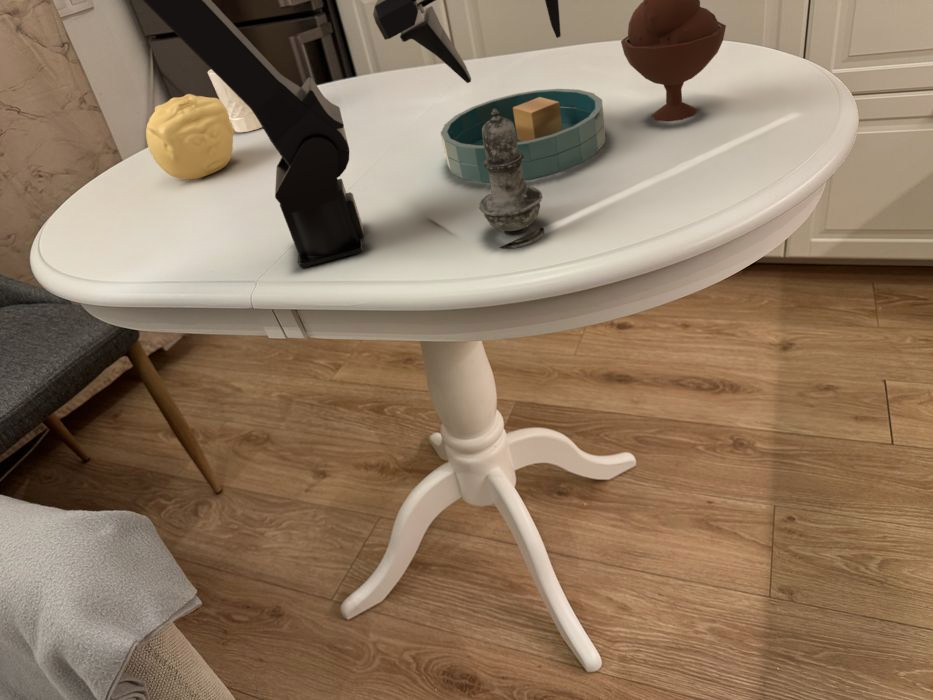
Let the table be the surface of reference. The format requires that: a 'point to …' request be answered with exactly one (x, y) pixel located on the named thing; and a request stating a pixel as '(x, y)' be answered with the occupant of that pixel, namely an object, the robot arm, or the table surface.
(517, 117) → the block
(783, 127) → the table surface
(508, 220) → the salt shaker
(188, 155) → the sculpture
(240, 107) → the white cup
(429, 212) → the table surface
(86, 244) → the table surface
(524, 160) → the bowl
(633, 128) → the table surface
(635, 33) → the ice cream bowl
